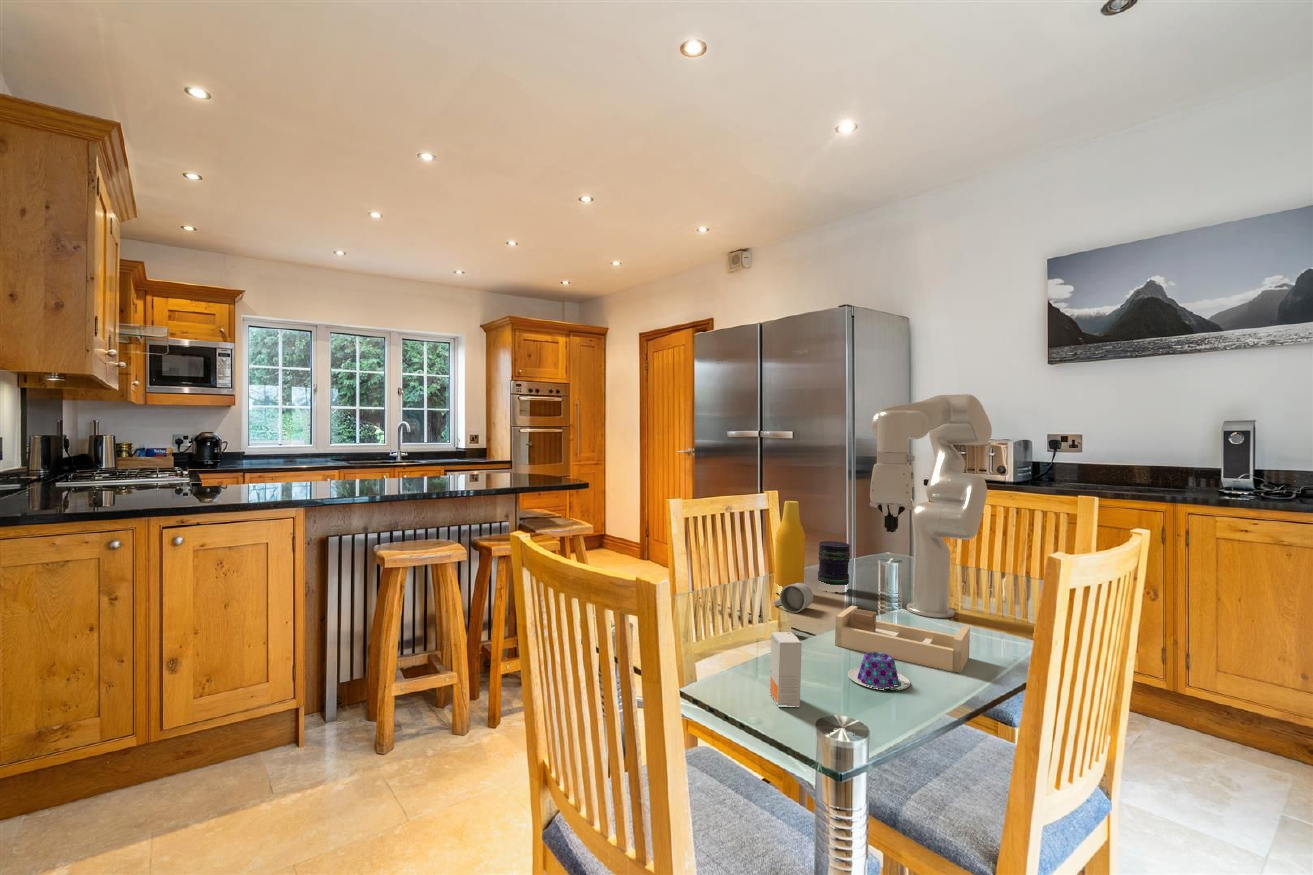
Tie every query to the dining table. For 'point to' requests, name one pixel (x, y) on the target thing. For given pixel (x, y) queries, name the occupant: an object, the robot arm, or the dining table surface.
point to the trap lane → (906, 642)
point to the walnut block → (864, 620)
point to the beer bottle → (790, 547)
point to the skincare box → (785, 668)
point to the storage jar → (833, 562)
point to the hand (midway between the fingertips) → (891, 531)
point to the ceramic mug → (795, 597)
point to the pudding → (877, 671)
